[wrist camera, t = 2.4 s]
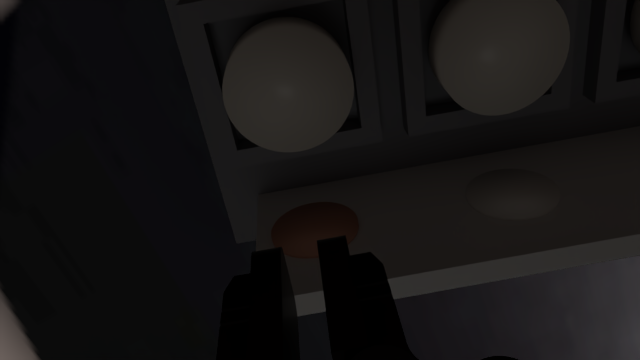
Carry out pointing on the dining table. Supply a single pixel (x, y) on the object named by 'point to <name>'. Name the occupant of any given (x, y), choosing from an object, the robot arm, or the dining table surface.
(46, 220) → the dining table surface
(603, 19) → the button board
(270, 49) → the button left
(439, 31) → the button middle
